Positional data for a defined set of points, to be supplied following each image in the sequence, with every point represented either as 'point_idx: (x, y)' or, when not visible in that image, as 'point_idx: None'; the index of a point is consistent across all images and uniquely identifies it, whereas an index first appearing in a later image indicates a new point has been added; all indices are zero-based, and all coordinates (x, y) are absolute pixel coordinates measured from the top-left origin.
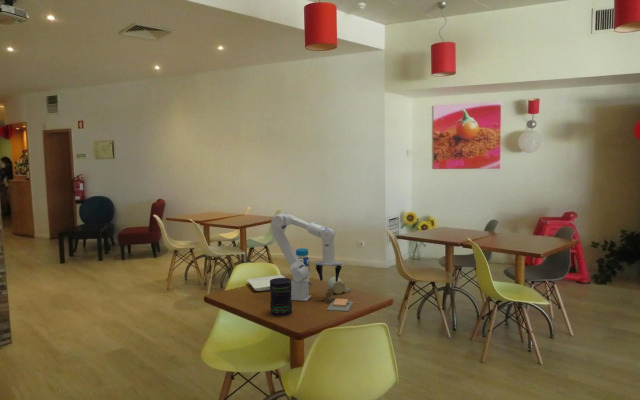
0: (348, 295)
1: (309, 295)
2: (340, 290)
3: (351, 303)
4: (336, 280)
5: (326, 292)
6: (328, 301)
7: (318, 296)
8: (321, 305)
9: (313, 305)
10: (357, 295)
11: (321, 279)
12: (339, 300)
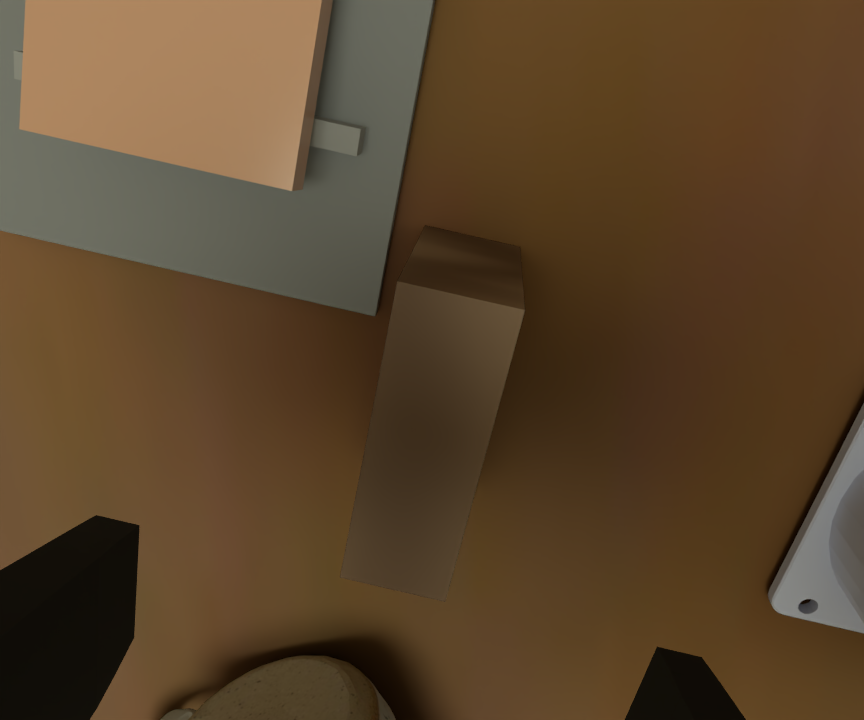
0: (148, 585)
1: (799, 608)
2: (254, 696)
3: (4, 101)
4: (85, 529)
5: (493, 317)
6: (460, 239)
7: (631, 588)
8: (613, 44)
9: (792, 50)
10: None
11: (674, 678)
12: (200, 67)
